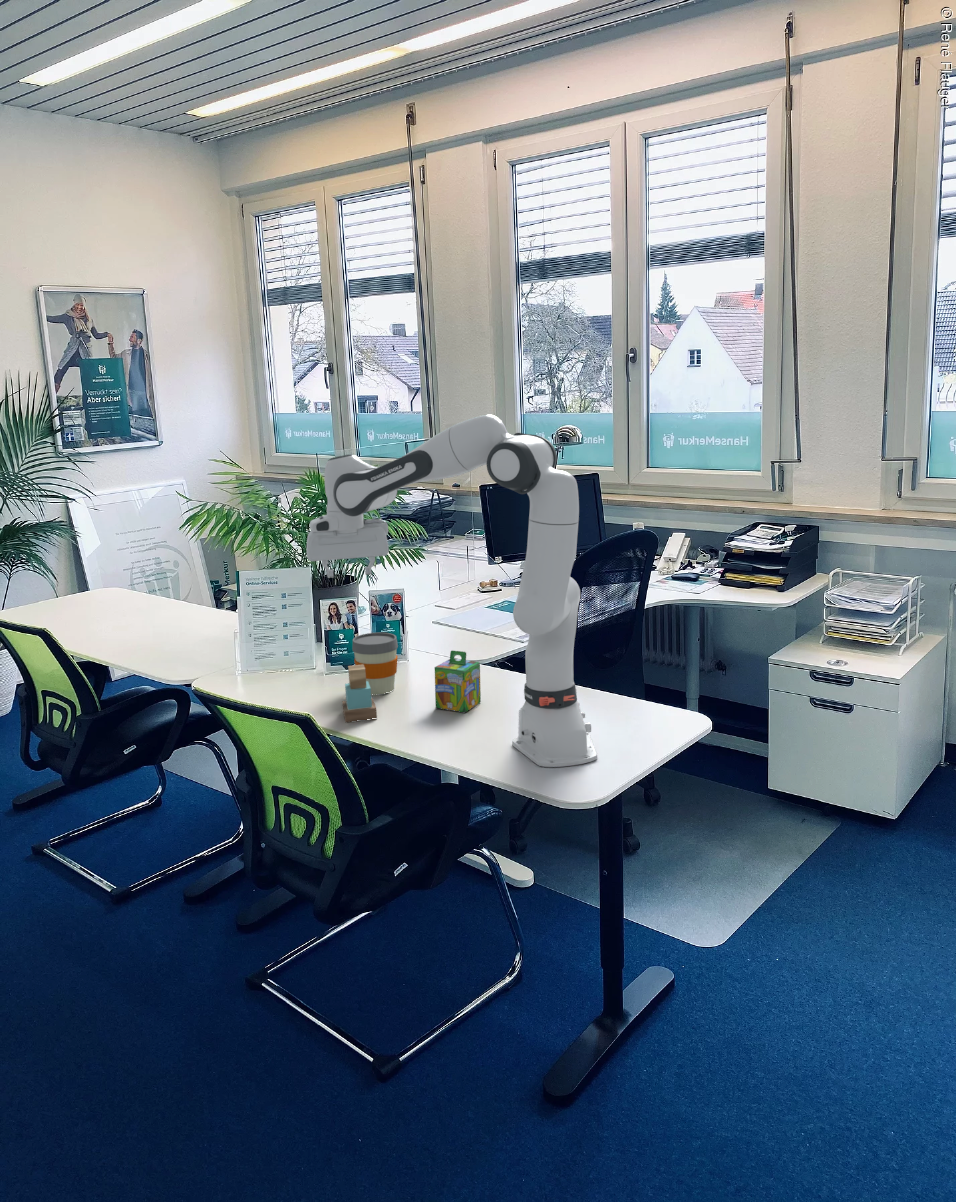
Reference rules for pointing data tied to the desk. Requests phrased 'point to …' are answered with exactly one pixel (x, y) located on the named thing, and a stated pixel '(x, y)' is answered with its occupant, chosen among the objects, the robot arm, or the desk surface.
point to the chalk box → (457, 683)
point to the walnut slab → (359, 712)
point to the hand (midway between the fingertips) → (349, 575)
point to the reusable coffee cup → (377, 659)
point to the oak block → (357, 676)
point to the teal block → (358, 697)
